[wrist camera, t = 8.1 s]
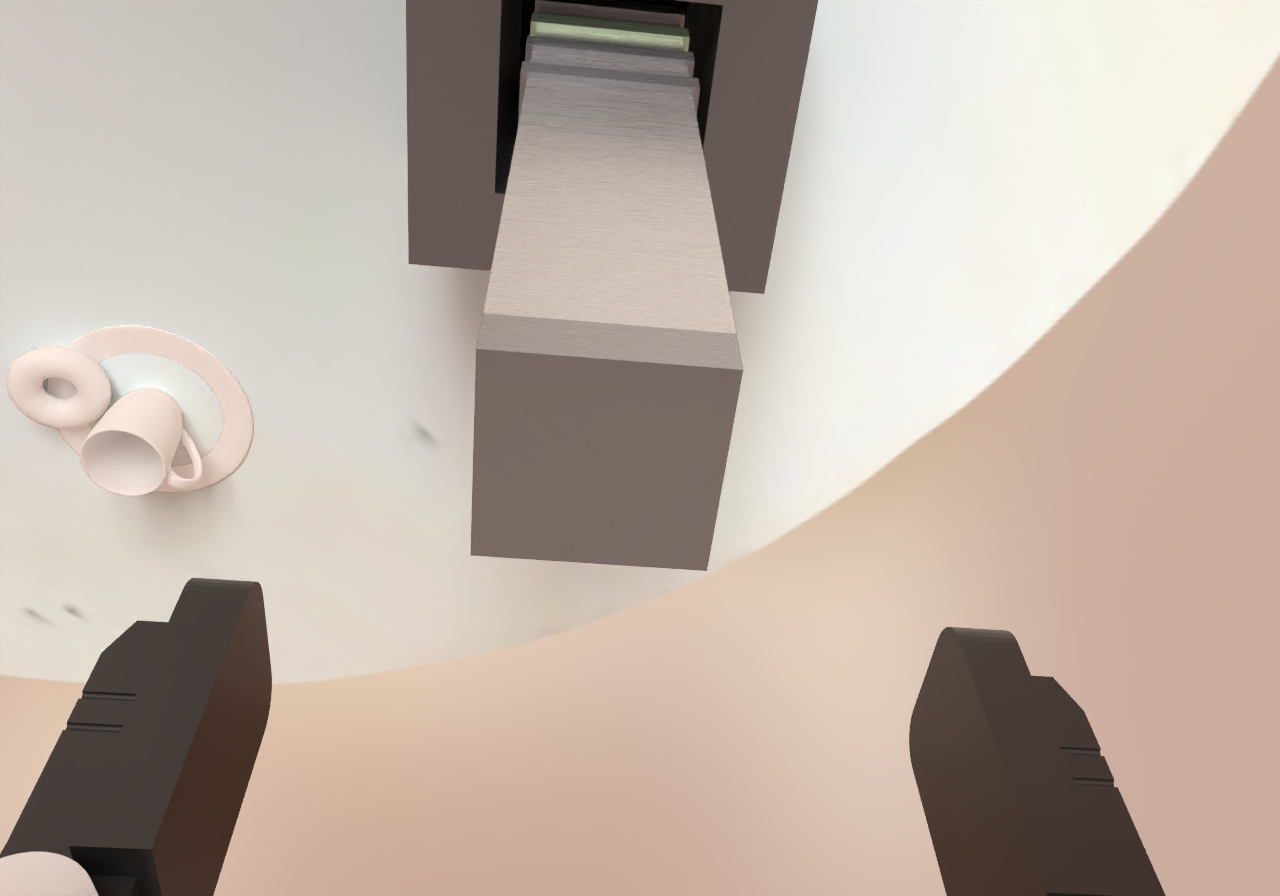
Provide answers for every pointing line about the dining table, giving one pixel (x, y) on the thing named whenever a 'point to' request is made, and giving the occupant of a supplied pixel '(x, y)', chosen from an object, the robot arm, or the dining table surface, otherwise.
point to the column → (605, 305)
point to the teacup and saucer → (130, 411)
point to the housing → (489, 108)
